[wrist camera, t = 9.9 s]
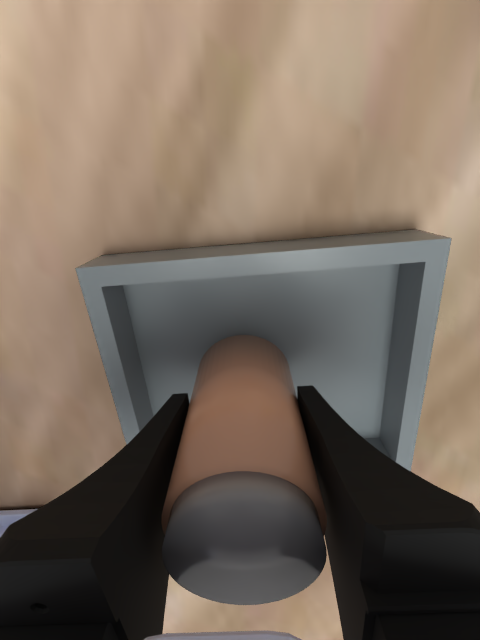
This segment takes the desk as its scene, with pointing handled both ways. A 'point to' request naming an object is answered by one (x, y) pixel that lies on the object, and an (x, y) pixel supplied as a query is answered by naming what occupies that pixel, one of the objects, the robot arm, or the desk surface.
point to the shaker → (244, 482)
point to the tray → (278, 322)
